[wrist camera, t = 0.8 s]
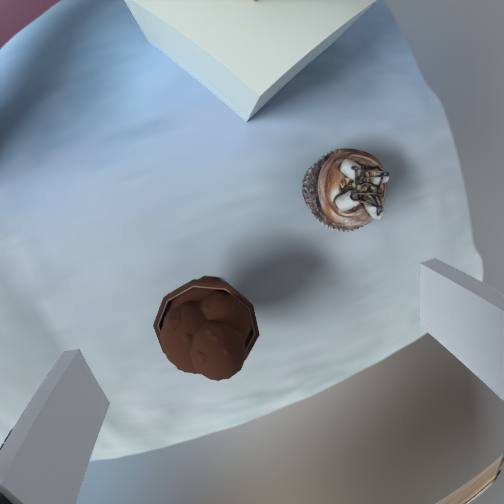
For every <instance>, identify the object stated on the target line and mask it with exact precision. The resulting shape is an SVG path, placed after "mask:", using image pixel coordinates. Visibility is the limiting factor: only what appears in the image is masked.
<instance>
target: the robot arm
mask: <svg viewBox="0 0 504 504" xmlns="http://www.w3.org/2000/svg"><path fill="white" fill-rule="evenodd" d="M420 326H421V327H422V328H424V329H425V330H426V331H427V332H428V333H429V334H431V335H432V336H433V337H434V338H435V339H436V340H438V341H439V342H440V343H441V344H442V345H443V346H444V347H445V348H447V349H448V350H449V351H450V352H451V353H452V354H453V355H455V356H456V357H457V358H458V359H459V360H460V361H461V362H462V363H463V364H465V365H466V366H467V367H468V368H469V369H470V370H471V371H472V372H473V373H474V374H475V375H477V376H478V377H479V378H480V379H481V380H482V381H483V382H484V383H485V384H486V385H487V386H488V387H489V388H490V389H492V390H493V391H494V392H495V393H496V394H497V395H498V396H499V397H500V398H501V399H502V400H503V401H504V293H501V292H499V291H498V290H496V289H494V288H492V287H491V286H489V285H487V284H485V283H483V282H481V281H479V280H477V279H475V278H473V277H472V276H470V275H468V274H466V273H464V272H462V271H460V270H458V269H456V268H454V267H452V266H450V265H448V264H446V263H444V262H442V261H440V260H438V259H435V258H434V259H431V260H428V261H425V262H422V263H420ZM109 404H110V402H109V401H108V399H107V397H106V396H105V394H104V393H103V391H102V389H101V387H100V386H99V384H98V382H97V381H96V379H95V377H94V375H93V374H92V372H91V370H90V368H89V366H88V364H87V363H86V361H85V359H84V357H83V355H82V353H81V351H80V349H77V350H71V351H65V352H64V353H63V354H62V356H61V357H60V359H59V360H58V361H57V363H56V364H55V366H54V367H53V369H52V370H51V371H50V373H49V374H48V376H47V377H46V379H45V380H44V382H43V383H42V384H41V386H40V387H39V389H38V390H37V392H36V393H35V395H34V396H33V398H32V400H31V401H30V403H29V404H28V406H27V407H26V409H25V410H24V412H23V414H22V415H21V417H20V418H19V420H18V422H17V423H16V425H15V426H14V428H13V429H12V430H11V431H10V433H9V434H8V436H7V438H6V439H5V441H4V442H5V443H3V444H2V446H1V448H0V504H76V500H77V497H78V494H79V491H80V487H81V484H82V481H83V478H84V475H85V472H86V469H87V466H88V463H89V460H90V457H91V454H92V451H93V448H94V445H95V442H96V439H97V437H98V434H99V431H100V428H101V426H102V423H103V420H104V418H105V415H106V412H107V410H108V407H109Z"/></svg>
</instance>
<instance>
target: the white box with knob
mask: <svg viewBox="0 0 504 504" xmlns="http://www.w3.org/2000/svg"><path fill="white" fill-rule="evenodd" d="M124 1H125V3H126V4H127V6H128V8H129V9H130V11H131V13H132V15H133V16H134V18H135V20H136V21H137V23H138V25H139V27H140V28H141V30H142V32H143V33H144V35H145V37H146V39H147V40H148V42H149V43H150V44H151V45H153V46H154V47H156V48H157V49H158V50H160V51H161V52H162V53H164V54H165V55H166V56H167V57H169V58H170V59H171V60H173V61H174V62H175V63H177V64H178V65H179V66H180V67H182V68H183V69H184V70H185V71H187V72H188V73H189V74H190V75H192V76H193V77H194V78H195V79H197V80H198V81H199V82H200V83H202V84H203V85H204V86H205V87H206V88H208V89H209V90H210V91H211V92H212V93H214V94H215V95H216V96H217V97H218V98H219V99H221V100H222V101H223V102H224V103H225V104H226V105H228V106H229V107H230V108H231V109H232V110H233V111H234V112H236V113H237V114H238V115H239V116H240V117H241V118H242V119H243V120H245V121H246V122H247V121H248V120H249V119H250V118H251V117H252V116H253V115H254V114H255V113H256V112H257V111H258V110H259V109H260V108H261V107H262V106H263V105H264V104H265V103H267V102H268V101H269V100H270V99H271V98H272V97H273V96H274V95H275V94H276V93H277V92H278V91H279V90H280V89H281V88H282V87H284V86H285V85H286V84H287V83H288V82H289V81H290V80H291V79H292V78H293V77H295V76H296V75H297V74H298V73H299V72H300V71H301V70H302V69H303V68H305V67H306V66H307V65H308V64H309V63H310V62H311V61H313V60H314V59H315V58H316V57H317V56H318V55H320V54H321V53H322V52H323V51H324V50H326V49H327V48H328V47H329V46H330V45H332V44H333V43H334V42H335V41H336V40H337V39H338V38H339V37H340V36H341V35H342V34H343V33H344V32H345V31H346V30H347V29H348V28H349V27H350V26H351V25H352V24H353V23H354V22H355V21H356V20H357V19H358V18H359V17H360V16H361V15H362V14H363V13H364V12H365V11H366V10H367V9H368V8H370V7H371V6H372V5H373V4H374V3H375V2H376V1H377V0H124Z"/></svg>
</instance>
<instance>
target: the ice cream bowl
mask: <svg viewBox="0 0 504 504" xmlns="http://www.w3.org/2000/svg"><path fill="white" fill-rule="evenodd" d="M153 326H154V329H155V332H156V335H157V337H158V340H159V343H160V345H161V348H162V350H163V353H165V354H166V356H167V358H168V360H169V361H170V362H171V363H173V364H174V365H175V366H176V367H177V368H178V369H179V370H182V371H184V372H188V373H194V374H202V375H204V376H205V377H207V378H209V379H211V380H217V381H219V380H221V379H229V378H231V377H232V376H233V375H235V374H236V373H237V372H238V371H240V370H241V368H242V366H243V363H244V360H246V358H247V357H248V355H249V353H250V351H251V349H252V347H253V346H254V344H255V342H256V340H257V338H258V336H259V330H258V326H257V321H256V316H255V312H254V307H253V305H252V304H251V303H250V301H248V300H247V299H246V298H245V297H243V296H242V295H241V294H240V293H238V292H237V291H236V290H235V289H234V288H232V287H231V286H230V285H229V284H227V283H226V282H222V281H221V280H220V279H218V278H217V277H206V276H203V277H202V278H200V279H198V280H196V279H194V280H192V281H190V282H188V283H186V284H185V285H183V286H181V287H179V288H178V289H176V290H174V291H172V292H171V293H169V294H167V295H166V296H165V297H164V298H163V300H162V303H161V305H160V308H159V311H158V314H157V316H156V319H155V322H154V325H153Z"/></svg>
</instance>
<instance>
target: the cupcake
mask: <svg viewBox="0 0 504 504" xmlns="http://www.w3.org/2000/svg"><path fill="white" fill-rule="evenodd" d="M389 177H390V176H389V173H388V172H387V171H386V170H385V169H383V167H382V165H381V163H380V162H379V161H378V160H377V159H376V157H374V156H372V155H371V154H369V153H366V152H363V151H359V150H355V149H339V150H337V149H336V150H335V151H333V152H332V151H330V152H329V153H326V154H325V155H324V156H322V157H320V158H319V159H318V160H317V161H316V162H315V163H314V164H313V165H312V166H311V167H310V168H309V169H308V171H307V173H306V175H305V177H304V179H303V186H302V192H303V196H304V199H305V202H306V204H307V206H308V207H309V209H310V211H311V212H312V214H313V215H314V216H316V219H317V221H318V222H321V224H322V225H325V226H326V227H327V228H329V227H330V228H331V229H332V230H334V229H336V230H337V231H338V232H339V231H340V229H341V231H342V232H345V230H346V231H348V232H349V230H351V231H353V230H354V229H359V227H363V226H364V225H366V224H368V223H370V222H371V221H372V220H373V219H375V220H380V219H381V218H382V217H383V215H384V208H383V203H384V199H385V196H386V189H387V182H388V181H389Z"/></svg>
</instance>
